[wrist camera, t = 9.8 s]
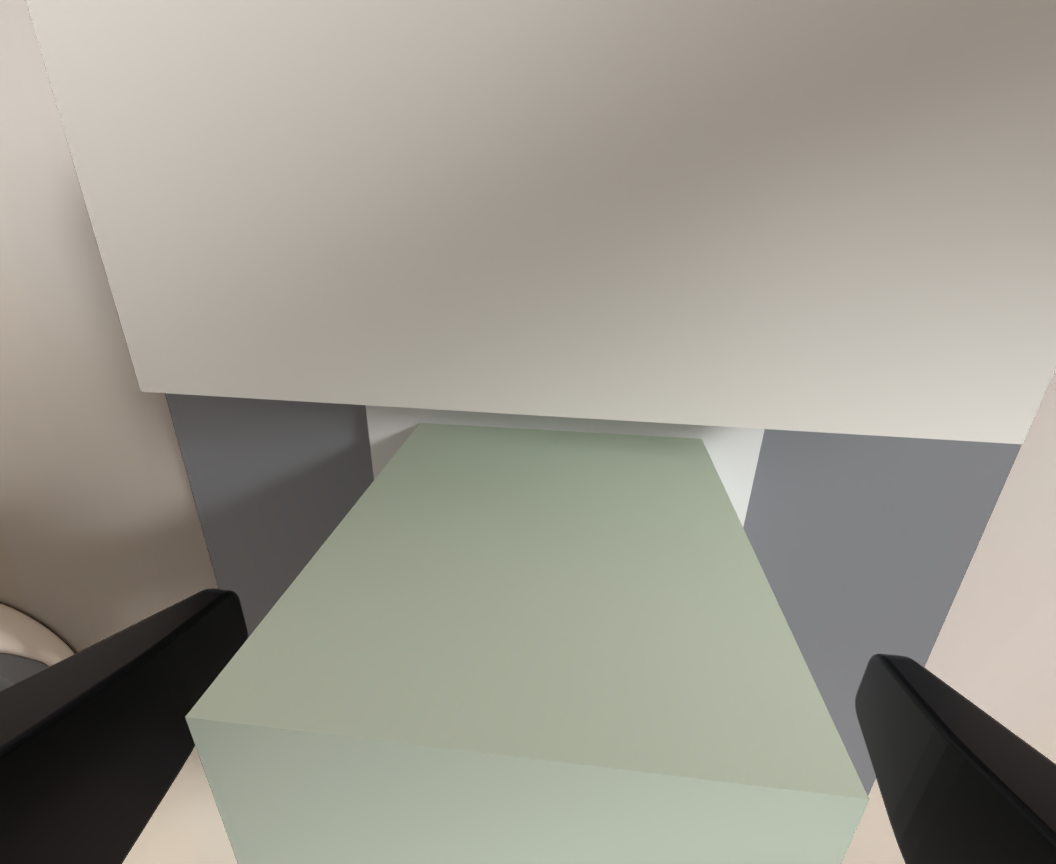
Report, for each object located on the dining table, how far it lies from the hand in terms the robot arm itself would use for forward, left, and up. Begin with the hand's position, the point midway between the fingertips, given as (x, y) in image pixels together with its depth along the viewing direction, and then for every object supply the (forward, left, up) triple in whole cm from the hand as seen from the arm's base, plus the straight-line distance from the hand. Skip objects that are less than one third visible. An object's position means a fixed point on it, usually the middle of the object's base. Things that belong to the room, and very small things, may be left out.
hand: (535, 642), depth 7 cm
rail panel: (0, 0, -4) cm, 4 cm away
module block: (0, 0, -3) cm, 3 cm away
